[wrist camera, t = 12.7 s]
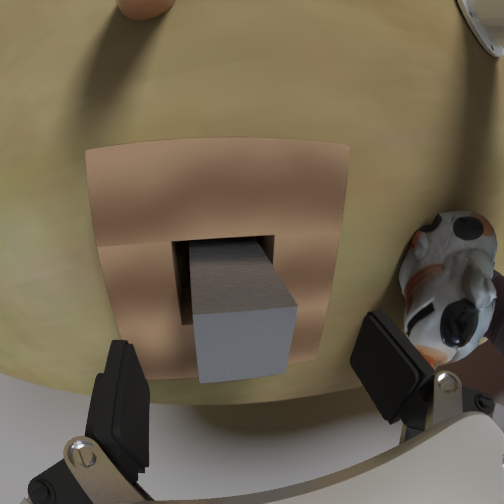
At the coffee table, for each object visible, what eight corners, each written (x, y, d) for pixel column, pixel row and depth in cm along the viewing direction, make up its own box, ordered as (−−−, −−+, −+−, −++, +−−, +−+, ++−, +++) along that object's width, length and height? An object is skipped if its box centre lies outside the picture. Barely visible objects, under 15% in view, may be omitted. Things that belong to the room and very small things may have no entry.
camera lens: (472, 288, 31) (535, 340, 18) (441, 314, 31) (506, 377, 18) (479, 245, 28) (555, 296, 14) (447, 270, 27) (530, 336, 14)
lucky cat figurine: (446, 301, 30) (466, 392, 20) (373, 291, 32) (380, 396, 21) (499, 213, 20) (556, 309, 10) (418, 186, 22) (477, 299, 11)
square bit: (188, 225, 18) (192, 314, 9) (246, 223, 19) (298, 305, 10) (190, 276, 20) (199, 383, 11) (243, 273, 21) (284, 373, 12)
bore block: (109, 145, 15) (85, 150, 11) (315, 140, 18) (349, 145, 14) (141, 341, 21) (137, 380, 17) (296, 325, 24) (315, 358, 20)
